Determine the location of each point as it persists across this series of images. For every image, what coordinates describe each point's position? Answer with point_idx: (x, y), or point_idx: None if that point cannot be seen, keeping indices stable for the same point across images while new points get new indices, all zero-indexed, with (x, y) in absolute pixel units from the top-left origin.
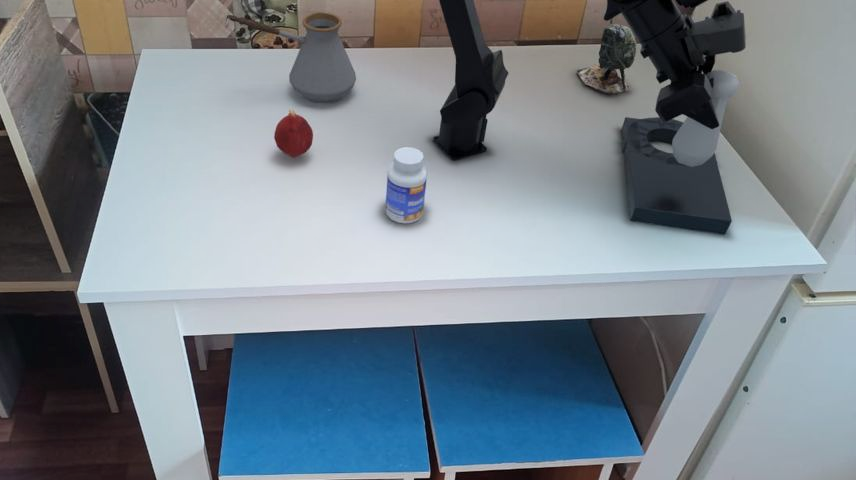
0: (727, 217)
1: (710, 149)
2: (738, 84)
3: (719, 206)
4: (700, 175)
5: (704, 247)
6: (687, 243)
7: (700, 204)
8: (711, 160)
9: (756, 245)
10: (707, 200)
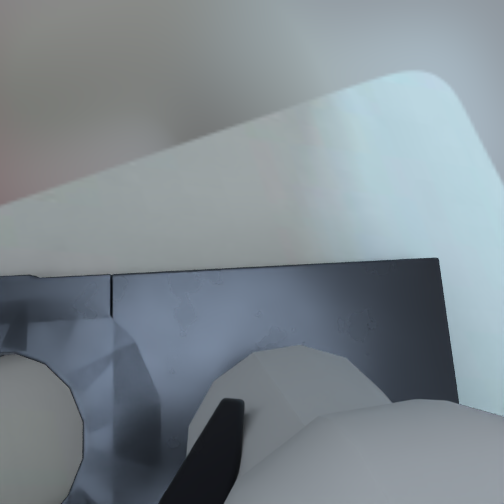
0: (425, 269)
1: (384, 394)
2: (494, 421)
3: (374, 289)
4: (207, 339)
5: (497, 331)
6: (498, 379)
7: (385, 352)
8: (99, 293)
9: (433, 188)
10: (354, 326)
